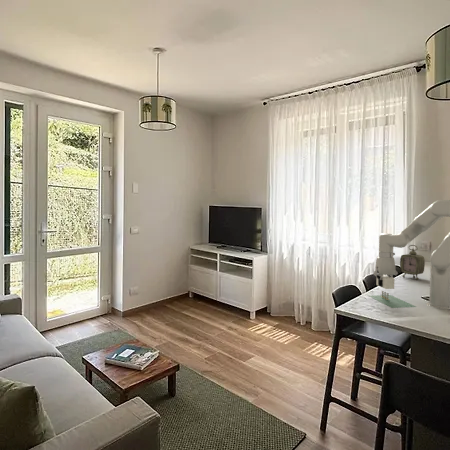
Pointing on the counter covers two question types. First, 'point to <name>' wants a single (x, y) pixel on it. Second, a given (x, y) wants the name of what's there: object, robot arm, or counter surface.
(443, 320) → the counter surface
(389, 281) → the block
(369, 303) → the counter surface
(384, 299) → the header board
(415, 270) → the tabletop clock
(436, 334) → the counter surface
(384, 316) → the counter surface
